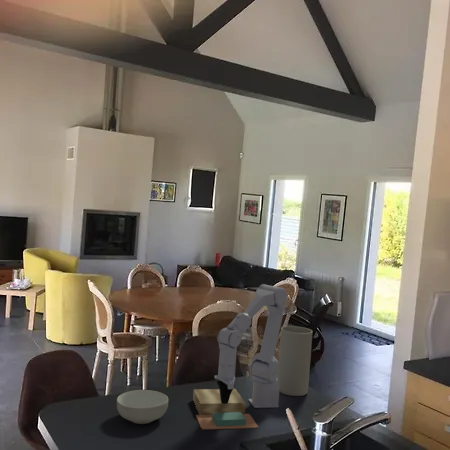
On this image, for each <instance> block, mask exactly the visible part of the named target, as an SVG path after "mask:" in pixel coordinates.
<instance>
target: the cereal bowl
mask: <svg viewBox="0 0 450 450" xmlns="http://www.w3.org/2000/svg"><path fill="white" fill-rule="evenodd" d="M168 407H169V397H168V396H167V395H166V394H164V393H163V392H160V391H156V390H148V389H136V390H129V391H125V392H123V393H121V394H120V395H118V397H117V398H116V409H117V411H118V414H119V415H120V417H122V418H123V419H125V420H128V421H130V422H132V423H134V424H137V425H138V424H139V425H144V424H150V423H151V422H152V423H153V422H154V421H156V420H158V419H160V418H161V417H162V416H164V415H165V413H166V412H167V410H168Z"/></svg>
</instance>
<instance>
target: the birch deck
mask: <svg viewBox="0 0 450 450" xmlns="http://www.w3.org/2000/svg"><path fill="white" fill-rule="evenodd" d="M192 393H193V395H192V396H193V397H192V402H193V401H194V402H193V403H195V404H194V405H196V406H195V409H196V410H197V412H198V415H212V413H230V412H241V413H242V414H246V402H245V400H244V398H242V396H241V395H240V393H239V392H238V390H237V389H236V388H234V389H233V390H232V392H231V395H230V398H229V401H228V404H222V403H221V398H220V391H219V388H217V389H215V388H214V389H213V388H211V389H210V388H209V389H207V388H203V389H201V388H199V389H193V392H192Z"/></svg>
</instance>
